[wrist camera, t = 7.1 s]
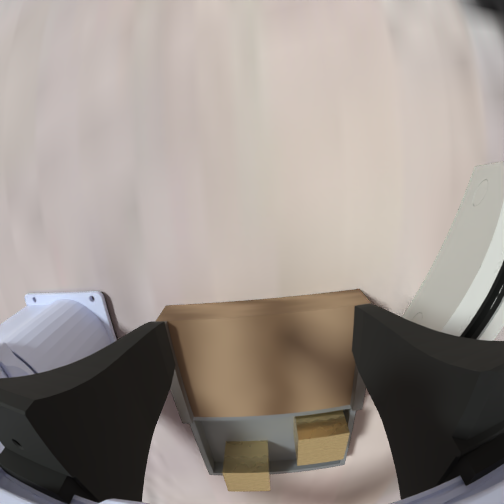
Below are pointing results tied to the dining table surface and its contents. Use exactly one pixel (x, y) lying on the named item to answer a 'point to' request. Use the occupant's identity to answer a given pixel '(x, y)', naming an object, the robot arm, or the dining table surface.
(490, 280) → the light grey rounded slab
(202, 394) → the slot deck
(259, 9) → the dining table surface
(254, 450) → the wooden cube
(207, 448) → the tray
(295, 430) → the tan wooden cube
